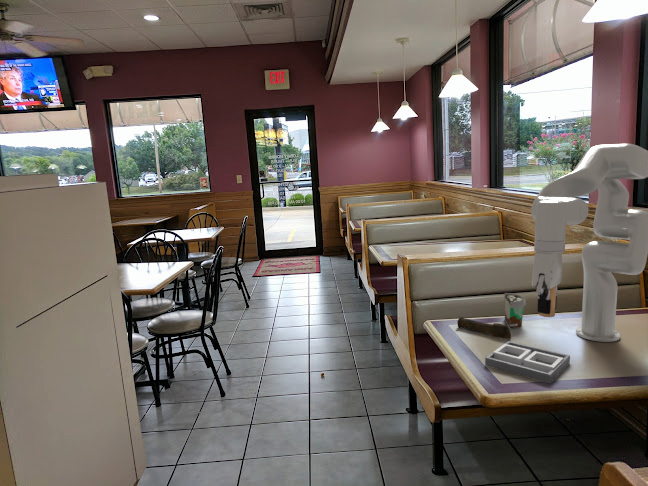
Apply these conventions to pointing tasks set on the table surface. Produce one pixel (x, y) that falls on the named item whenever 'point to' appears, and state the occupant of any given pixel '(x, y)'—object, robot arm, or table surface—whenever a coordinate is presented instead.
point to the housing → (528, 361)
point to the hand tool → (485, 328)
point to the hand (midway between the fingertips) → (546, 310)
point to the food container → (514, 309)
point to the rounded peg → (553, 299)
